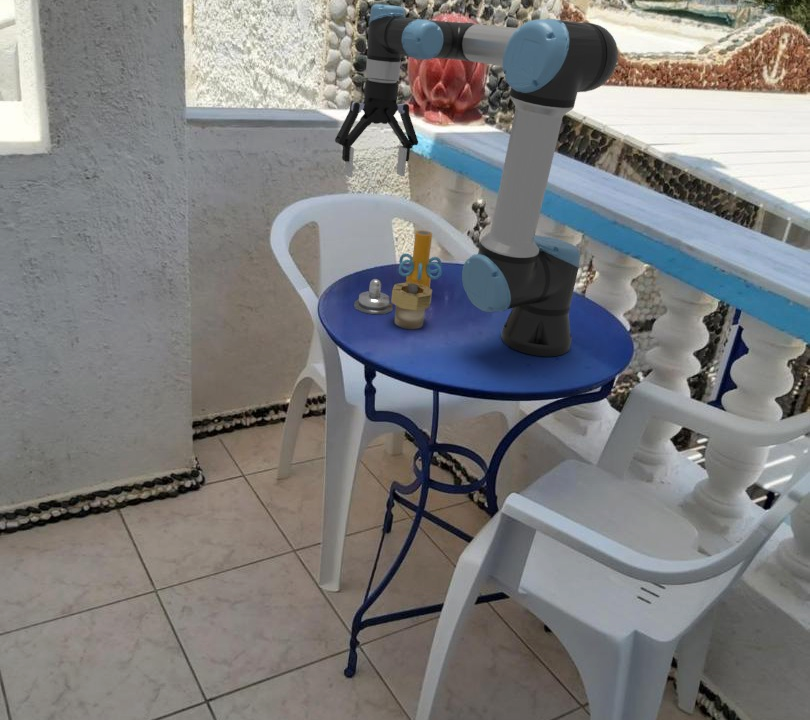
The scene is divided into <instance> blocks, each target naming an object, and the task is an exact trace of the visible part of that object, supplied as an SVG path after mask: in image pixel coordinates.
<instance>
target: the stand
mask: <svg viewBox="0 0 810 720" xmlns="http://www.w3.org/2000/svg"><path fill="white" fill-rule="evenodd" d="M417 290H418V285H417V284H408V289H407V293H412V294H417ZM425 310H426V309H421V310H410V309H404V308H400V307H398V306H396V305H395V313H394V324H395V325H396V326H398V327H399V328H403V329H407V330H417V329H421V328H422V327H423V325H424V319H425V312H426V311H425Z"/></svg>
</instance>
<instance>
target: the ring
mask: <svg viewBox="0 0 810 720" xmlns="http://www.w3.org/2000/svg"><path fill="white" fill-rule="evenodd" d="M408 284H416V283H410V282H406V281H405V282H401V283H396V284H394V285H393V288H392V291H391V300H390V303H391V304H392V305H395V307H396V306H398V307H400V308H404V309H410V310H421V309H425V310H426V309H429V308H430V307H431V302H432V296H433V295H432V294H433V289H432V288H431V287H430V288H428V287H426V286H425V285H423V284H417V285H418V290H417V294H412V293H407V289H408Z"/></svg>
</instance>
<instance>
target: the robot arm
mask: <svg viewBox="0 0 810 720" xmlns="http://www.w3.org/2000/svg"><path fill="white" fill-rule="evenodd" d="M405 12H406V11H405V8H404V7H403V6H399V5H392V4H391V5H390V4H379V3H375V4H373V5H372V6H371V8H370V14H369V15H370V16H369V21H368V25H367V26H368V35H367V51H366V52H367V55H366V68H365V69H366V70H365V77H366V78H367V79H366V81H364V97H363V98H364V100H363V102H362V103H361V102H357V101H354V100H353V101H350V105H349V111H348V113H347V115H346V117H345V118H344V121H343V123H342V125H341V127H340V129H339V131H338V133H337V134H336V137H335V138H334V141H335V143H336V144H338V145H341V146H342V152H341V153H342V155H341V156H342V157H341V159H342V161H343V162H344V163H345V165H344V175H345V176H347V177H348V178H352V177H353V172H354V171H353V169H354V154H355V148H354V147H352V146H353V144H354V143H355V142H356V141H357V139H358V138H359V137H360V136H361V135H362V134H363V132H364V131H365V130H366V129H367V127H368V126H370V125H371V124H375V125H376V124H377V125H379V124H383V125H387V124H389V126H390V128H391V129H392V131H393V133H394V134H395V136H396V137H397V139H398V140H399V142H400V144H401V145H399V146H398V154H397V155H398V156H397V164H396V165H397V166H396V174H397V175H399V176H401V177H405V175H406V174H405V173H406V163H407V162H409V160H410V153H411V150H412V148H413V146H417V145H418V144H419V141H418V137H417V134H416V131H415V128H414V124H413V122H412V121H413V120H412V118H411V116H410V105H409V104H407V103H404V102H400V104H398V102H397V101H398V96H399V83H398V81H399V80H400V75H401V74H400V71H401V60H402V56H404V57H408V58H412V59H415V60H421V61H423V60H424V61H425V60H426V61H428V60H432V59H438V60H439V59H441V60H444V59H445V60H458V61H465V62H473V63H479V64H480V63H481V64H485V65H487V64H488V65H492V66H499V67H502V72H503V73H505V75H504V79H505V82H506V83H507V84H508V86H509V87H510V92H509V99H510V100H511V102H513V103H512V104H514V106H515V109H514V115H513V120H512V125H511V128H510V129H511V130H510V133H509V134H510V135H509V137H508V138H509V139H508V144H507V148H506V149H507V150H506V153H505V158H504V159H505V160H504V163H503V168H502V174H501V177H500V183H499V188H498V193H497V198H496V202H495V206H494V207H495V208H494V211H493V217H492V223H491V228H490V230H489V232H488V233H486V234H485V235H483V236H481V238H480V241H479V247H478V252H477V254H472V255H471V256H469V258H467V259H466V260H465V262H464V264H463V266H462V271H461V280H462V281H461V282H462V286H463V289H464V292H465V293H466V295H467V297H468V300H469V301H470V302H471V304H473V305H474V307H476V308H477V309H479V310H480V311H483V312H485V313H486V312H487V313H493V312H505V311H506V310H509V309H511V311H510V313H509V315H508V317H507V318H506V321H505V322H504V324H503V326H502V330H501V334H500V335H501V336H500V337H501V340H502V342H503V343H504V344H505V345H506V346H507V347H509V348H510V349H513V350H515V351H518V352H520V353H522V354H526V355H531V356H536V357H537V356H538V357H557V356H562V355H565V354H566V353H568V352H569V351H570V349H571V345H572V334H571V326H570V325H571V324H570V317H569V316H570V315H569V314H570V309H571V305H572V300H573V296H574V291H575V286H576V281H577V276H578V272H579V269H580V262H581V252H580V250H579V248H578V247H577V246H575V245H574V244H572V243H569V242H567V241H565V240H562V239H559V238H554V237H550V236H544V235H538V234H537V235H536V231H537V228H538V224H539V220H540V215H541V212H542V208H543V207H542V205H543V203H544V199H545V198H544V197H545V194H546V189H547V186H548V182H549V176H550V172H551V168H552V165H553V160H554V159H553V158H554V155H555V151H556V147H557V143H558V138H559V134H560V130H561V126H562V121H563V117H564V116H565V115H567V113H569V112H570V111H572V110H573V109H574V107H575V103H576V100H577V96H578V93H586V92H590V91H593V90H596V89H598V88H600V87H601V86H603V85H605V84H606V83H607V82H608V80H609V79H610V78H611V77H612V75H613V74H614V72H615V70H616V67H617V63H618V60H619V59H618V58H619V50H618V44H617V42H616V40H615V38H614V37H613V35H612V34H611V33H610V31H608V30H607V28H605V27H603V26H601V25H599V24H597V23H596V24H595V23H591V22H580V21H579V22H578V21H572V20H571V21H569V20H561V19H556V18H545V19H542V18H541V19H532V20H529V21H527V22H524V23H523V24H522V25H521V26H520V27H509V26H507V27H506V26H499V25H491V24H490V25H489V24H480V23H479V24H478V23H477V24H476V23H474V22H459V21H445V20H432V19H422V18H413V17H412V18H411V17H406V13H405ZM362 110H363V115H362V116H361V117H360V118H359V121H358V122H357V123H356V125H354V124H355V122H356V120H357V118H358V117H359V113H361V112H362ZM397 112H398V113H399V114H400V115H399V116H400V118H401V121H402V125H403V127H404V129H405V132H404V131H403V129H402V127H401V126H400V125H399V123H398V120H397V118H396V117H395V115H396V113H397ZM353 126H354V127H353Z"/></svg>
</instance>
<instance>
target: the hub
mask: <svg viewBox="0 0 810 720" xmlns="http://www.w3.org/2000/svg"><path fill="white" fill-rule="evenodd" d="M381 288H382V283H381V280H379V279H377V278H374V279H372V280H371V281H370V283H369V288H368V289H369V290H367V291H363V292H361V293H359V296H358V299H357V300H355V301H354V303H353V307H354V309H355V310H356V311H358V312H361V313H363V314H368V315H377V316H378V315H380V316H381V315H387V314H389V313H391V312H393V310H394V306H393V305H394V304H393V303H391V301H390V296H389V295H388V294H386V293H384V292H381V290H382V289H381Z"/></svg>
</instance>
